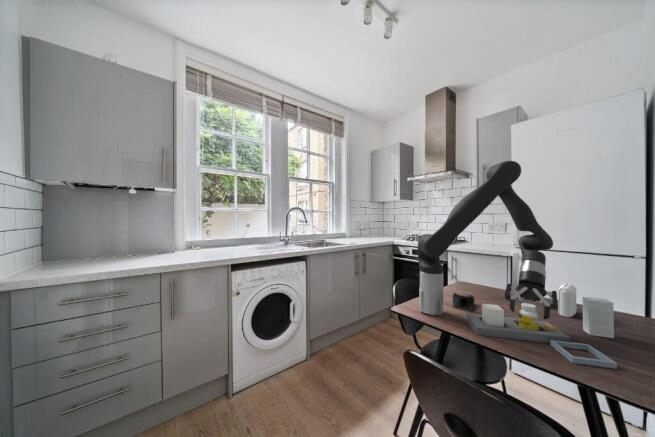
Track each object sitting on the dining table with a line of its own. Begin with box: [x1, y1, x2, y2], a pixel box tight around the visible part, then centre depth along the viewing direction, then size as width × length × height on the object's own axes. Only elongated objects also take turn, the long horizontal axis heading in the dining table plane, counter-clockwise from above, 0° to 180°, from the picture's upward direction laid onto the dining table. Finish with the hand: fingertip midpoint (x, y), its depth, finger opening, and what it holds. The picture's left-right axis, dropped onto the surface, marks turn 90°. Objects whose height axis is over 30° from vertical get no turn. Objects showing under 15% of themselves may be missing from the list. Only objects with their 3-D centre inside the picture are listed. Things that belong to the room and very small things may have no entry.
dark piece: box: [451, 292, 476, 312], centre depth 106 cm, size 9×8×12 cm
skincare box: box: [581, 296, 615, 339], centre depth 80 cm, size 6×4×12 cm
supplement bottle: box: [518, 302, 540, 331], centre depth 82 cm, size 5×5×10 cm
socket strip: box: [465, 303, 571, 344], centre depth 83 cm, size 26×12×8 cm, turn 74°
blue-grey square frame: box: [549, 340, 618, 370], centre depth 68 cm, size 10×10×2 cm
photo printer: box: [557, 283, 577, 318], centre depth 97 cm, size 10×4×12 cm, turn 123°
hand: (528, 314), depth 81 cm, fingers open, 8 cm apart
